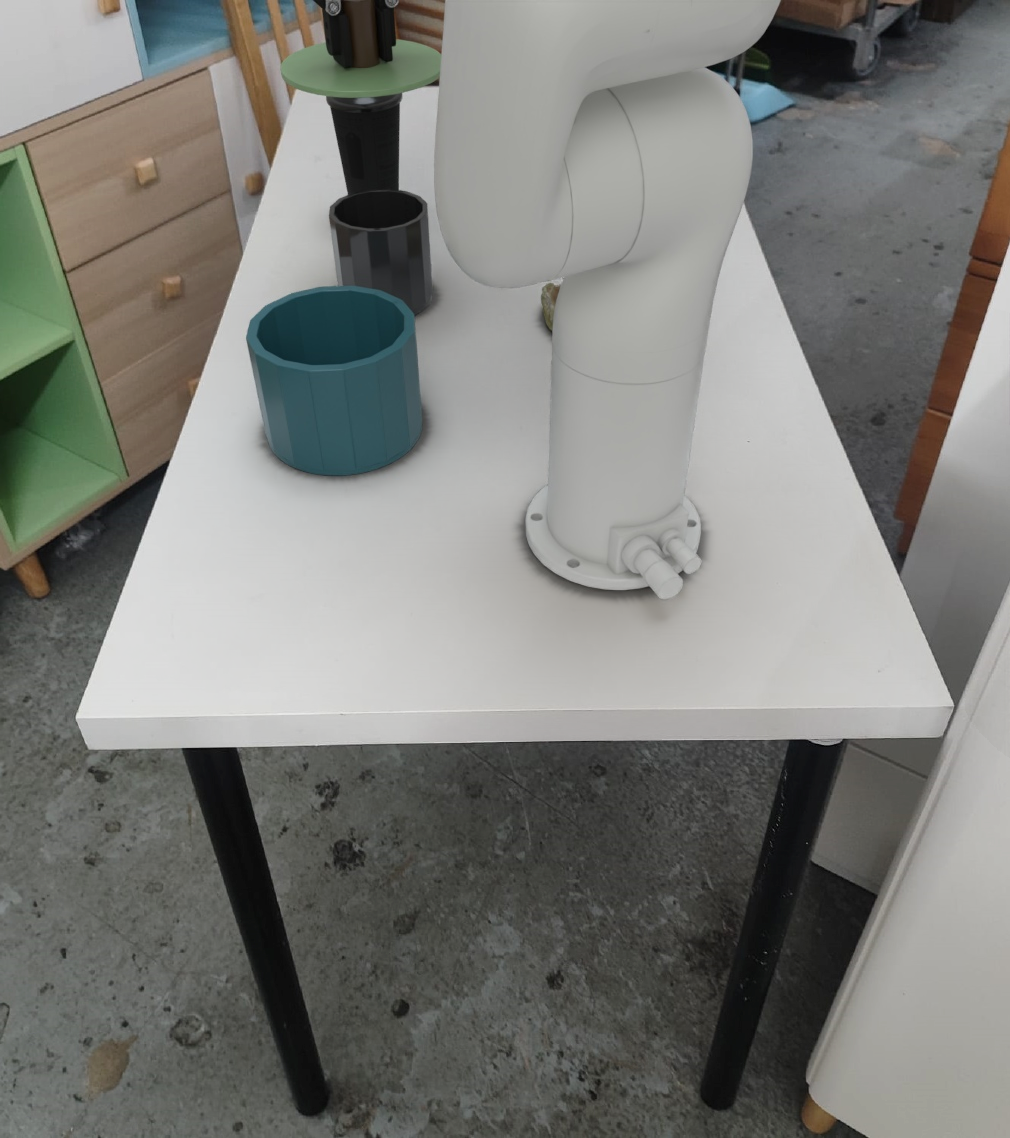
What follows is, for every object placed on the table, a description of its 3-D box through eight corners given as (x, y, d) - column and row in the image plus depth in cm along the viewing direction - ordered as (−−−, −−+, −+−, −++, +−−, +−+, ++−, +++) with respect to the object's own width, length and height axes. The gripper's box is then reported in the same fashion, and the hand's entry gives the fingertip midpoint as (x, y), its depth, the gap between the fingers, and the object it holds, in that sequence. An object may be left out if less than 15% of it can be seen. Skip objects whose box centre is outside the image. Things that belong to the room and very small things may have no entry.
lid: (471, 89, 84) (469, 6, 79) (312, 116, 79) (301, 30, 75) (408, 42, 93) (404, -34, 88) (262, 65, 88) (249, -15, 84)
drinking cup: (420, 232, 111) (407, 30, 97) (352, 244, 109) (328, 40, 95) (399, 204, 116) (384, 9, 102) (333, 215, 114) (309, 18, 100)
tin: (446, 449, 82) (440, 344, 76) (294, 493, 78) (275, 387, 72) (389, 372, 90) (379, 272, 84) (249, 409, 86) (227, 307, 80)
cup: (447, 308, 99) (443, 218, 93) (359, 329, 96) (348, 238, 90) (412, 269, 105) (405, 181, 98) (328, 288, 102) (316, 199, 96)
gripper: (238, -204, 67) (281, 89, 80) (464, -219, 73) (470, 59, 85) (209, -217, 72) (254, 61, 85) (422, -230, 77) (435, 34, 90)
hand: (362, 57), depth 85 cm, fingers closed on lid, 2 cm apart
